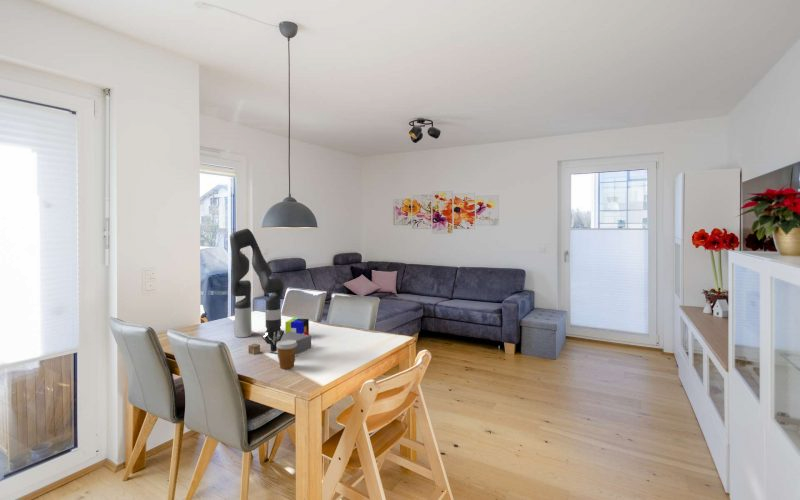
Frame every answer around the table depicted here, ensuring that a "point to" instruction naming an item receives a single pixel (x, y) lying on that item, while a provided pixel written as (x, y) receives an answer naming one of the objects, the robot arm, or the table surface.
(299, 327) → the puzzle toy
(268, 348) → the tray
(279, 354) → the disposable coffee cup
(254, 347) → the walnut block
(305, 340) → the block
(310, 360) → the table surface
